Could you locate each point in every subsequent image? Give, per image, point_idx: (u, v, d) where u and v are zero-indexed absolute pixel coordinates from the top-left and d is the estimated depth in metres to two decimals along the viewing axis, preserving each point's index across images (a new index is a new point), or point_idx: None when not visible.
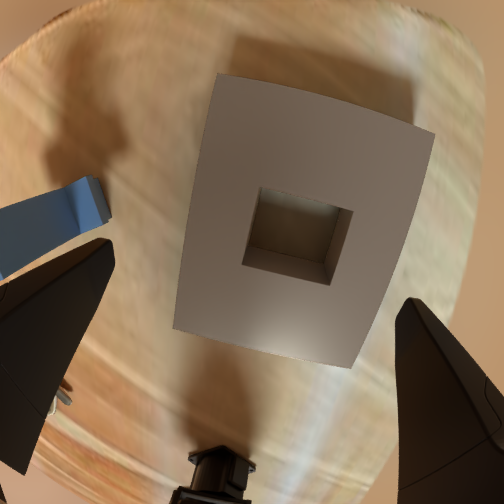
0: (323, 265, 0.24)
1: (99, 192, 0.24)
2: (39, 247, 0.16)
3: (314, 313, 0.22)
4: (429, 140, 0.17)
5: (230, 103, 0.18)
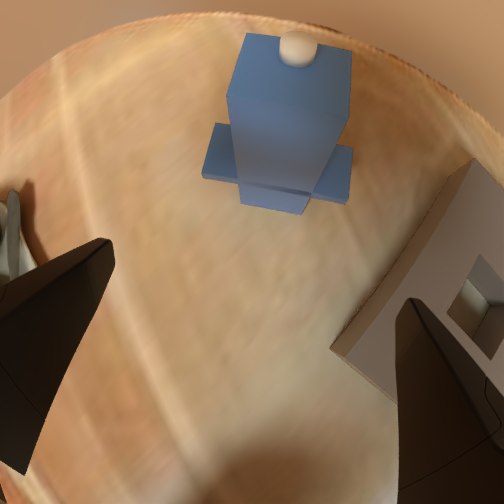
0: None
1: None
2: None
3: None
4: None
5: (478, 183, 0.19)
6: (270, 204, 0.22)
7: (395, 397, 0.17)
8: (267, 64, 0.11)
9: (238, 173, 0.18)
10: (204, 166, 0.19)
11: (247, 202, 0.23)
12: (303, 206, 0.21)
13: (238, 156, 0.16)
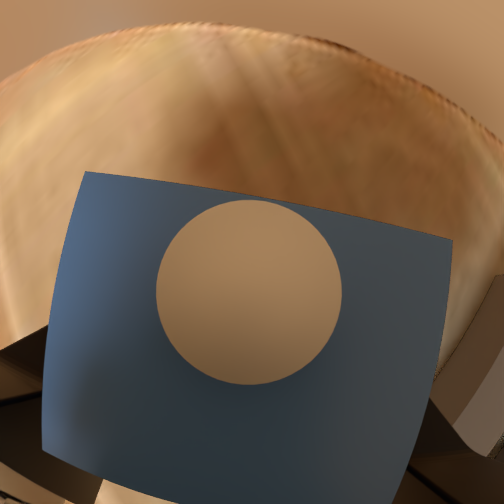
0: None
1: None
2: None
3: None
4: None
5: None
6: None
7: None
8: (137, 348, 0.03)
9: None
10: None
11: None
12: None
13: None
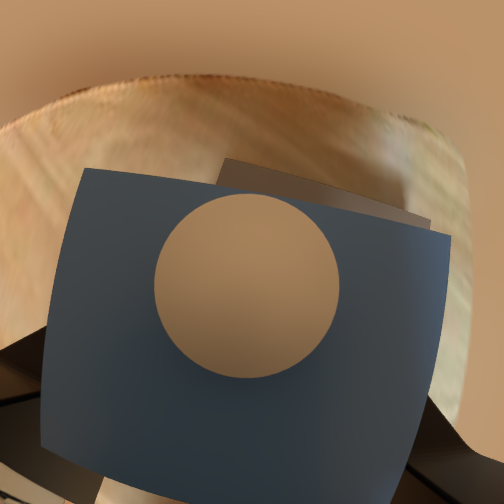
0: None
1: None
2: None
3: None
4: (426, 226, 0.19)
5: (236, 188, 0.19)
6: None
7: None
8: (135, 343, 0.03)
9: None
10: None
11: None
12: None
13: None
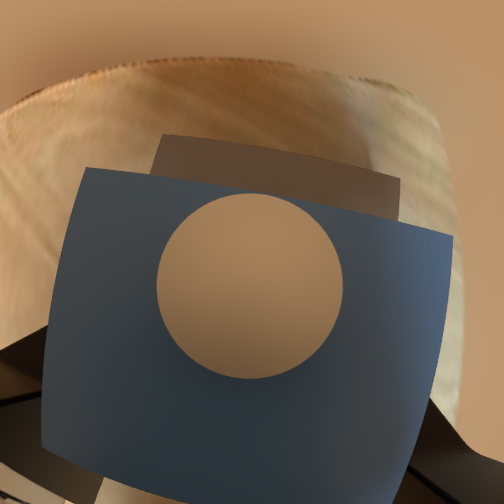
0: None
1: None
2: None
3: None
4: (395, 185, 0.17)
5: (174, 163, 0.17)
6: None
7: None
8: (137, 343, 0.03)
9: None
10: None
11: None
12: None
13: None
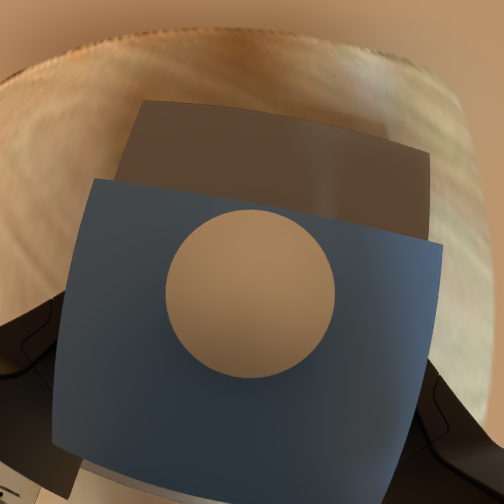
0: None
1: None
2: None
3: None
4: (424, 161, 0.13)
5: (155, 132, 0.14)
6: None
7: (159, 494, 0.11)
8: (145, 345, 0.03)
9: None
10: None
11: None
12: None
13: None
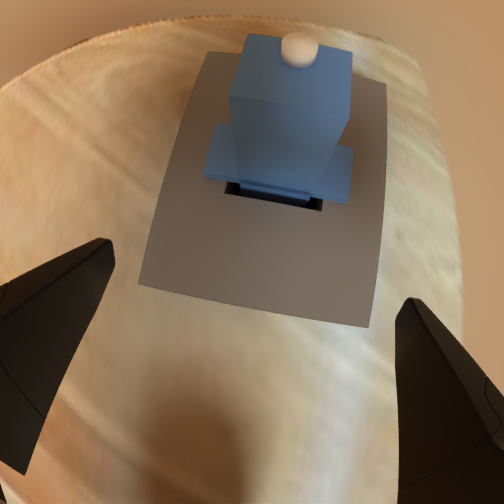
0: None
1: None
2: None
3: (310, 246, 0.19)
4: (382, 87, 0.21)
5: (217, 68, 0.21)
6: None
7: (211, 298, 0.18)
8: (269, 65, 0.11)
9: (239, 173, 0.18)
10: (206, 166, 0.19)
11: None
12: (304, 206, 0.21)
13: (240, 156, 0.16)
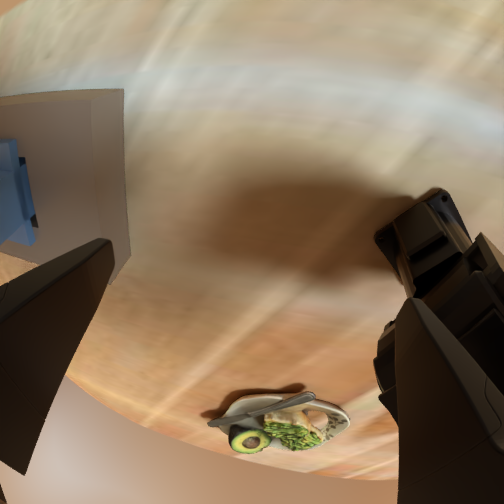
0: None
1: None
2: None
3: (47, 163, 0.18)
4: None
5: None
6: None
7: (100, 235, 0.21)
8: None
9: (17, 228, 0.19)
10: (26, 244, 0.21)
11: None
12: None
13: None
